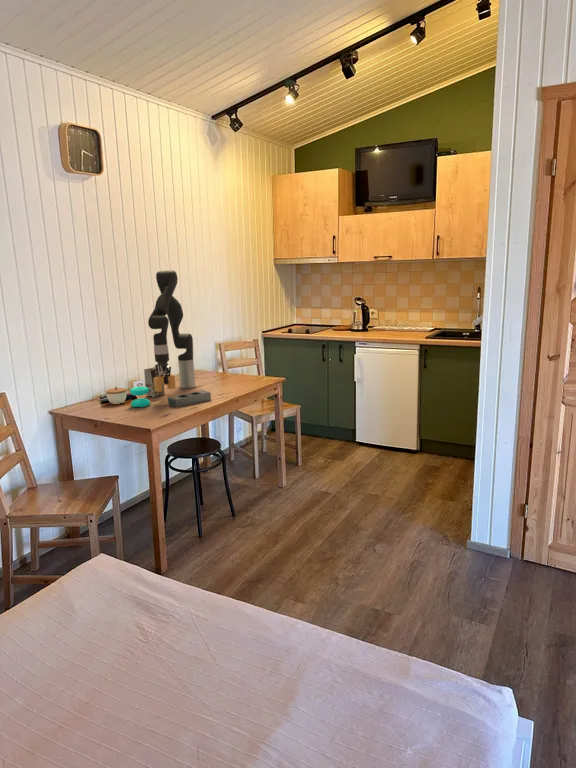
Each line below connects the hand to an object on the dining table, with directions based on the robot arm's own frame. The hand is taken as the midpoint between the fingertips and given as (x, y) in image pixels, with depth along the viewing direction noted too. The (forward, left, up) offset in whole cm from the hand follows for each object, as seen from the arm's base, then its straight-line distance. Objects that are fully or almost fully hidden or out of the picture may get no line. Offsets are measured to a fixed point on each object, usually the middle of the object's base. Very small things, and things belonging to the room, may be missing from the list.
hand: (164, 383), depth 296 cm
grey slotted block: (+12, +8, -11) cm, 18 cm away
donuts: (-4, -13, -11) cm, 18 cm away
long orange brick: (0, 0, -4) cm, 4 cm away
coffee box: (-21, +5, -11) cm, 24 cm away
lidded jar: (-20, -19, -11) cm, 30 cm away
